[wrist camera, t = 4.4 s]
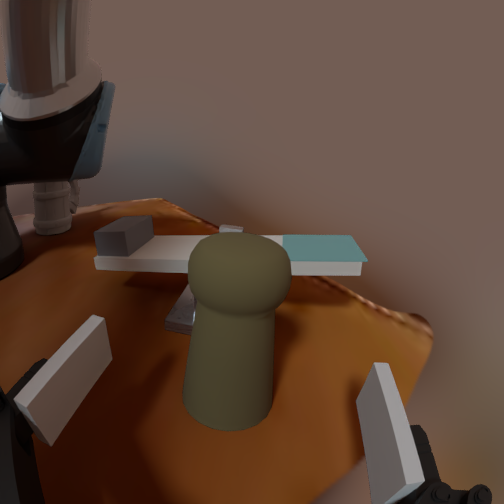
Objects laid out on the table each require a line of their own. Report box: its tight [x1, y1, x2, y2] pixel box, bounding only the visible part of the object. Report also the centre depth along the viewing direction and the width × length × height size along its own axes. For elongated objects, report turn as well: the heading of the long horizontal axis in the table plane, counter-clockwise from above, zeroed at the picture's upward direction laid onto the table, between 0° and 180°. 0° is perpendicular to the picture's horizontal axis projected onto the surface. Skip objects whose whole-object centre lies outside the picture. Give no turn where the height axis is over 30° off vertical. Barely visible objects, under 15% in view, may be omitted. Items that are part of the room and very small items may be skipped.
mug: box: [33, 180, 80, 235], centre depth 44 cm, size 8×12×12 cm, turn 173°
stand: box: [165, 224, 244, 335], centre depth 28 cm, size 7×12×7 cm, turn 174°
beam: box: [94, 215, 368, 275], centre depth 27 cm, size 24×7×4 cm, turn 84°
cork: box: [182, 232, 292, 431], centre depth 16 cm, size 6×6×11 cm
